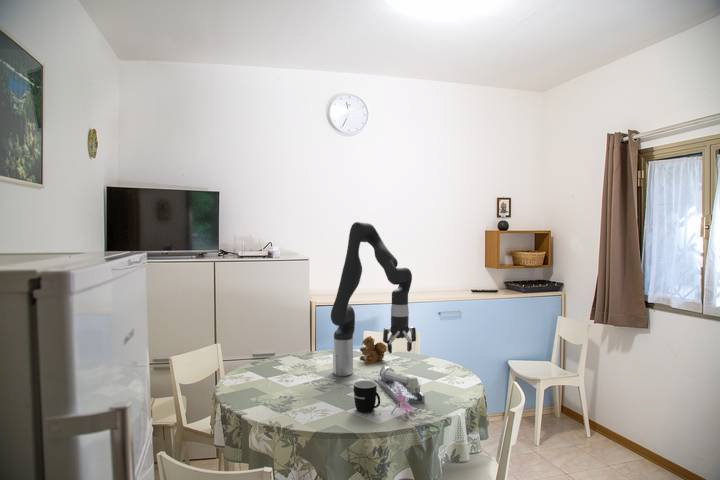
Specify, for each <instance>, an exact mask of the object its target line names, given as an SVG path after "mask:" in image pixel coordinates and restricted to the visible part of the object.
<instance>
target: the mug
mask: <svg viewBox="0 0 720 480" xmlns="http://www.w3.org/2000/svg"><path fill="white" fill-rule="evenodd" d="M377 384H378V383H377V382H376V381H373V380H365V379H364V380H358V381H355V382H354V383H353V397H354V399H353V400H354V404H355V405H354V406H355V409H356V410H357V412H358V413H362V414H370V413H372V412H373V411H374V410H375V409H377V408H378V407H379V406H380V405H381V398H380V395H379V393H378V391H377V390H378V389H377V388H378V386H377ZM376 401H377V404H376Z"/></svg>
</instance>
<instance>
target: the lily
mask: <svg viewBox="0 0 720 480" xmlns="http://www.w3.org/2000/svg"><path fill="white" fill-rule="evenodd" d="M397 389H398V395H397V394H395V393H393V394H394V395H395V397H396V398H397V399H398V404H397V405H396V406H395V407H394V409H393V410H391V411H392V412H391V415H392V414H393V412H394V411H395V409H396V408H397V407H400V410H401V411H404V412H405V414H406V415H407V417H408V419H409V420H410V418H411V417H410V412H411V413H415V411H414V409H413V407H412V405H411V404H409V403H407V402H408V401H406V397H405V396H403V395H402V392H401V390H400V389H399V387H398V386H397Z"/></svg>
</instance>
